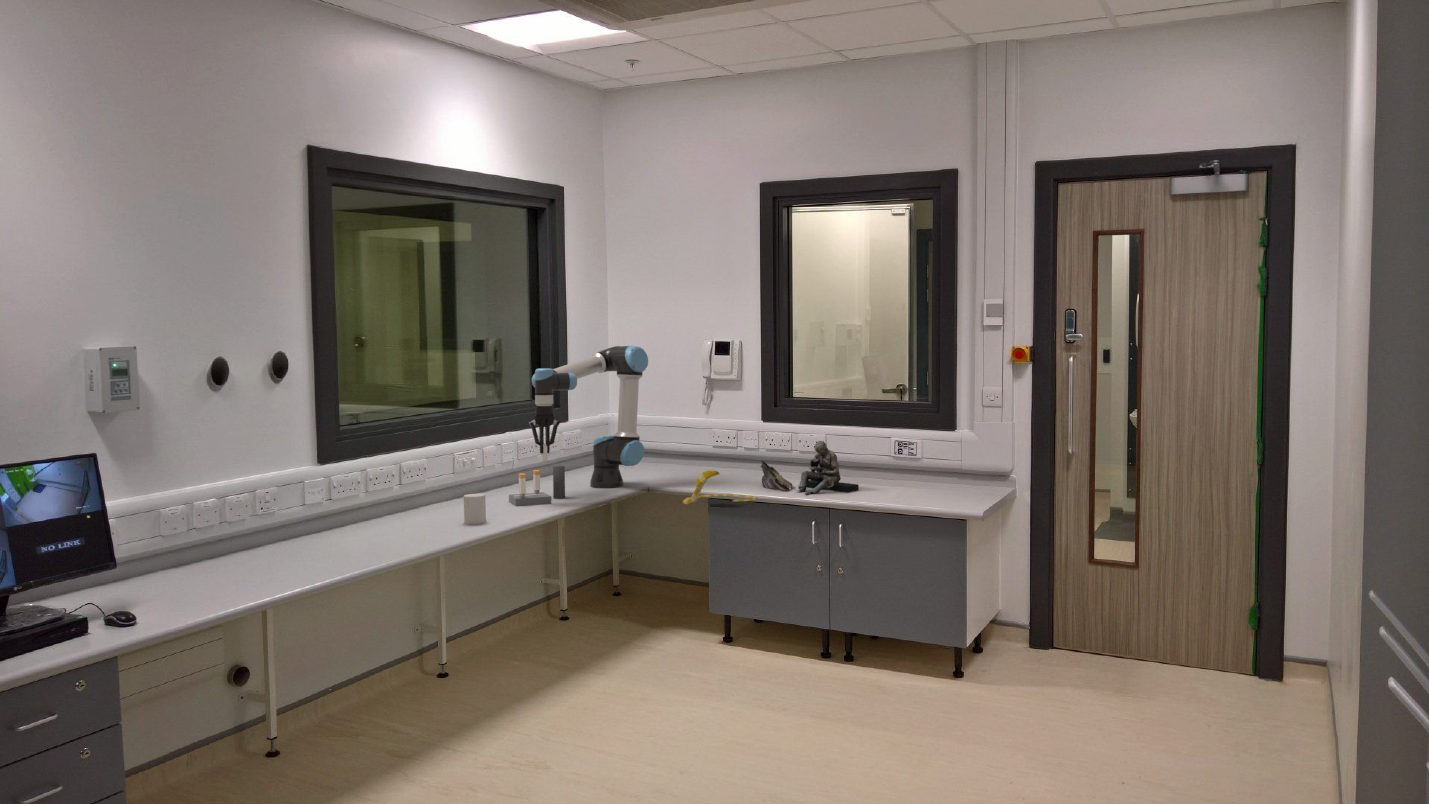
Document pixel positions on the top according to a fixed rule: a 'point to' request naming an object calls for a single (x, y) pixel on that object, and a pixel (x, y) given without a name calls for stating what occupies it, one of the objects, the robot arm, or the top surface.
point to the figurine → (824, 473)
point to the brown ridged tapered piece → (773, 478)
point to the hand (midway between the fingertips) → (544, 461)
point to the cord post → (558, 482)
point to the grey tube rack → (530, 499)
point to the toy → (699, 486)
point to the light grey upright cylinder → (474, 508)
